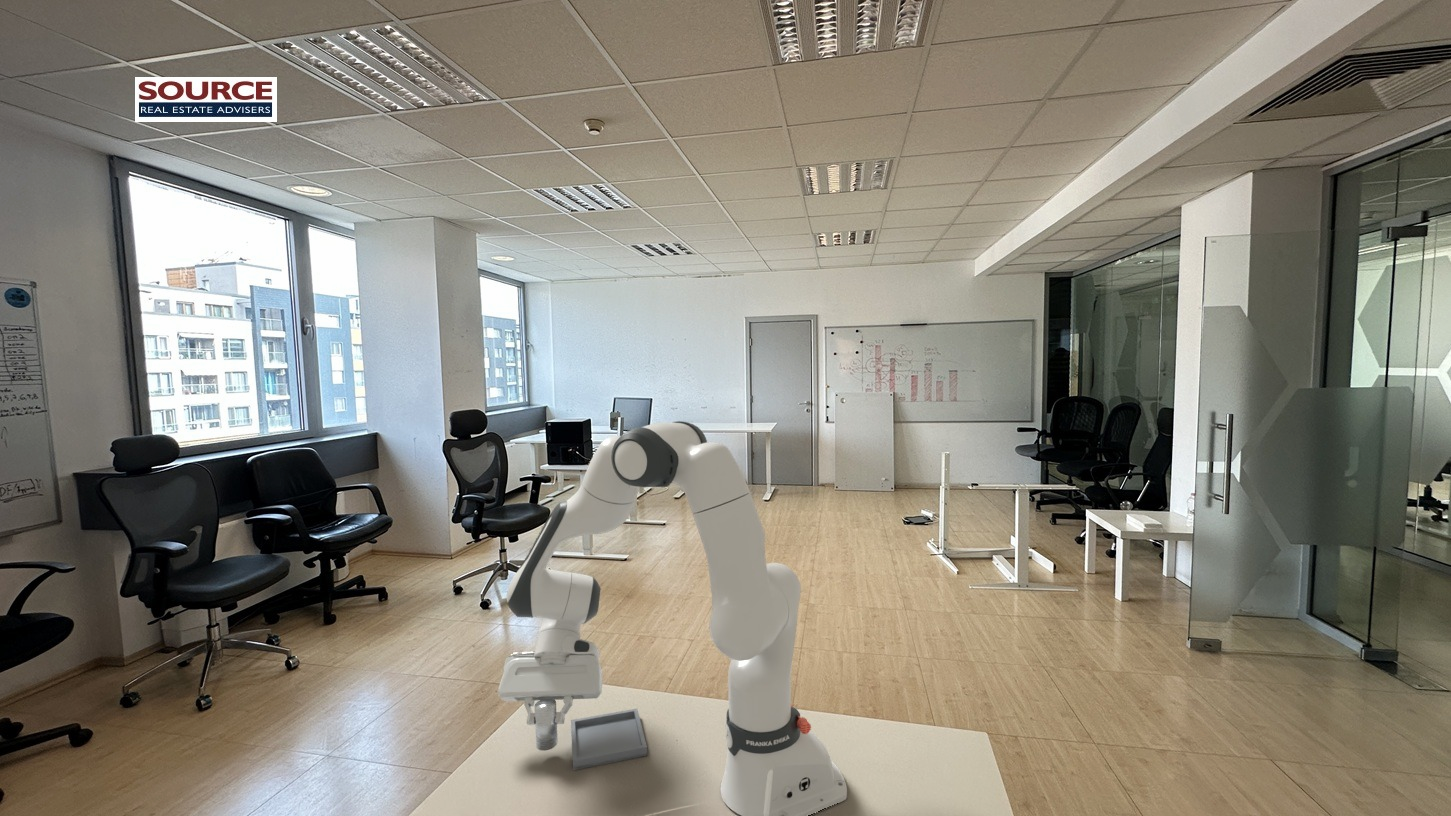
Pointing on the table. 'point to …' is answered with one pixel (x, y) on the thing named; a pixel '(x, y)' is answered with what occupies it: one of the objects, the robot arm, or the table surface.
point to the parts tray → (607, 739)
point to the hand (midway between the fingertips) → (545, 723)
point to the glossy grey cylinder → (545, 724)
